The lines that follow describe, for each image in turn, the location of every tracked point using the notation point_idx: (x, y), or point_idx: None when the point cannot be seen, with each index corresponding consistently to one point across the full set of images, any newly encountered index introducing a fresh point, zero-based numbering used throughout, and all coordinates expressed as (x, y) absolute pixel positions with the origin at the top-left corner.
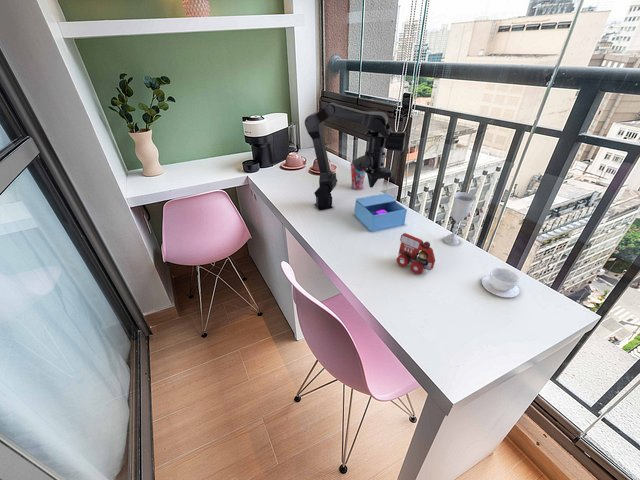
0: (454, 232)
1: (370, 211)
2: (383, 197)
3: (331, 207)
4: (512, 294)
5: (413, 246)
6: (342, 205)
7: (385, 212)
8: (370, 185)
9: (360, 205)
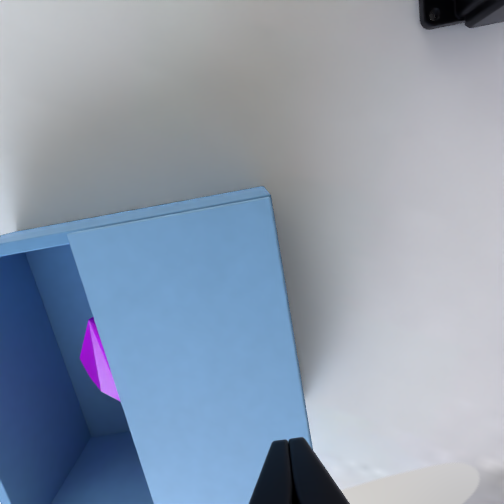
0: None
1: None
2: (237, 468)
3: (423, 13)
4: None
5: None
6: (444, 134)
7: (103, 392)
8: (266, 470)
9: (152, 214)
